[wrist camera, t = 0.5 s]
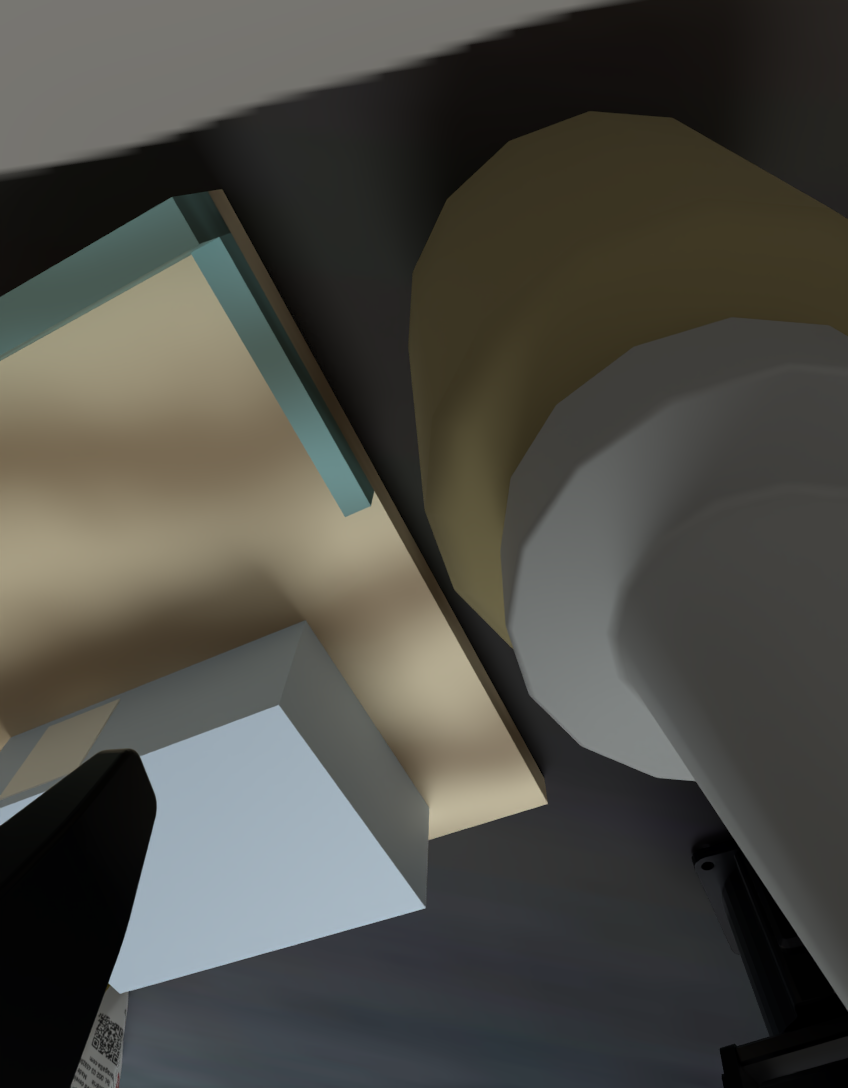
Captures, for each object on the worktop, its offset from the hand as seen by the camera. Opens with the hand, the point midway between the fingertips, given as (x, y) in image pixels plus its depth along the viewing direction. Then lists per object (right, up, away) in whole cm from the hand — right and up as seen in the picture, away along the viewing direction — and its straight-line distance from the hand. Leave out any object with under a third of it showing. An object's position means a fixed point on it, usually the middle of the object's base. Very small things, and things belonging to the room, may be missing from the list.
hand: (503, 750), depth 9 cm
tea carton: (-8, -6, +18) cm, 20 cm away
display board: (-10, -1, +17) cm, 19 cm away
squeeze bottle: (+3, +9, +11) cm, 14 cm away
